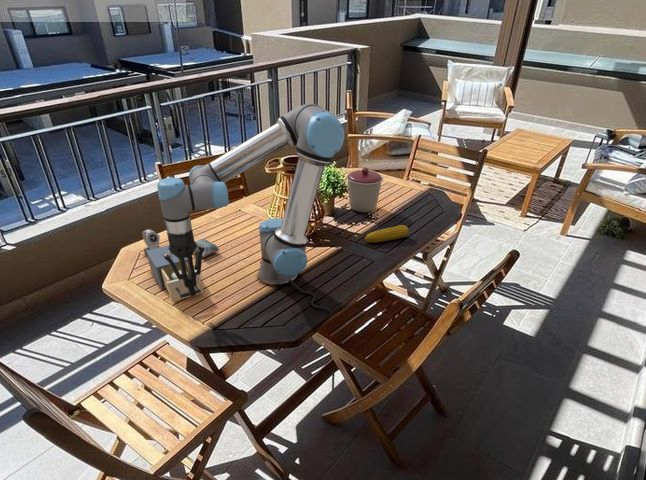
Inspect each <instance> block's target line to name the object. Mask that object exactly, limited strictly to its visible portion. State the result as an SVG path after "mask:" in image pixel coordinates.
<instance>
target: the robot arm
mask: <svg viewBox="0 0 646 480" xmlns="http://www.w3.org/2000/svg"><path fill="white" fill-rule="evenodd" d="M344 142H345V130H344V127H343V125H342V123H341V121H340V119H338V118H337V116H336V115H334V113H332V112H330V111H328V110H327V109H325V108H324V107H322V106H320V105H319V104H316V103H306V104H305V103H304V104H302V105H299V106H297V107H295V108H294V109H291V110H290V111H288V112H287V113H284V114H283V115H281V116H279V117H278V118H277V122H276V123H274V124H273V125H271V126H269V127H267V128H266V129H264V130H263V131H261V132H259V133H258V134H256V135H254V136H253V137H251V138H249V139H248V140H246V141H244V142H242V143H241V144H239V145H237V146H236V147H233V148H232V149H231V150H229V151H227V152H226V153H224V154H222V155H220V156H219V157H216V158H215V159H213V160H211V161H210V162H208V163H206V164H204V165H201V164H200V165H199V164H198V165H195V166H193V167H192V168H191V169H189V170H190V171H189V173H188V181H189V184H185V182H184V180H183V179H181V178H180V177H166V178H162V179H161V180H159V181H158V182H157V185H156V186H157V187H156V188H157V193H158V194H157V195H158V199H159V203H160V208H161V212H162V216H163V220H164V227H165V230H166V235H167V239H168V245H169V251H168V252H167V253H163V257H164V258H165V259H166V260H167V261H168V262H169V264H170V265H171V267H172V269H173V271H174V273H175V275H176V276H177V278H178V279H179V280H181V279H183V282H184V285H185V287H186V288H188V291H189V293H190V295H191V296H190V297H195V296H197V295H196V293H195V288H194V286H195V285H197V282H196V276H197V275H200V276H201V273H202V263H203V257H202V254H203V252H204V249H205V248H204V247H203V246H202V245H201V244H199V245H198V244H196V241H195V237H194V231H193V230H194V229H192V228H193V225H192V219H191V215H190V212H193V211H195V212H196V211H204V210H212V209H216V210H217V209H220V208H224V207H227V206H229V203H230V199H229V192H228V187H227V184H226V183H227V182H229V181H230V180H232V179H233V178H236V177H237V176H239V175H240V174H242V173H243V172H245V171H247V170H249V169H251V168H252V167H254V166H256V165H257V164H259V163H261V162H263V161H264V160H267V159H268V158H269V157H271V156H273V155H275V154H277V153H278V152H280V151H282V150H284V149H285V148H286V147H288V146H290V147H295V153H296V155H297V157H298V158H297V159H298V160H297V162H296V166H295V171H294V175H293V179H292V182H291V185H290V190H289V194H288V197H287V202H286V206H285V210H284V214H283V218H280V217H279V218H269V219H265V220H263V221H261V222H260V223H259V227H258V229H259V230H258V232H259V242H260V251H261V260H260V261H259V264H260V265H259V270H258V279H259V281H260V282H261V283H263V284H265V285H268V286H271V287H282V286H287V285H290V284H291V285H292V286H293V287H295V289H297V290H298V291H299V292H300V293H302V294H305V295H309V296H312V299H311V301H310V306H312V308H315V309H320V310H321V309H322V310H325V311H327V312H328V313H329V314H330V315H332V314H333V312H332V310H331V309H330V308H329V307H326V306H323V305H316V304H314V302H315V301H316V294H315V293H314V292H310V291H305V290H303V289H302V288H301V287H299V286H298V285H297V284H296V283H295V281H296V280H297V279H298V277H299V274H300V273H301V272H303V271H304V270H305V268H306V267H307V265H308V256H307V254H306V250H307V247H308V242H309V238H308V236H307V234H306V233H307V230H308V226H309V224H310V219H311V216H312V213H313V209H314V206H315V202H316V199H317V195H318V191H319V188H320V184H321V182H322V178H323V175H324V172H325V167H326V166H327V165H329V164H331V163H332V161H333V157H334V156H335V154H337V153H339V152H340V150H341V149H342V147H343V145H344ZM195 249H196V252H194V251H195ZM194 253H195V259H194V257H193V255H194ZM172 254H173V255H175V256H176V257H177V258H178V260H179V264H180V269H181V274H180V273H179V271H178V269H177V267H176V266H175V264H174V262H173V260H172ZM184 258H187V263H188V268H189V273H190V275H188V276H187V271H186V266H185V260H184ZM193 259H194V261H193ZM194 262H195V263H194ZM335 374H336V373H335V370H333V371H332V373H331V391H335Z"/></svg>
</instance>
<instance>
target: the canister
mask: <svg viewBox="0 0 646 480" xmlns="http://www.w3.org/2000/svg"><path fill="white" fill-rule="evenodd" d="M346 180H347V188H348V201H349V206H350V208H351V209H352V211H354V212H357V213H371V212H373V211H375V209H376V208H377V206H378V201H379V196H380V191H381V187H382V182H383V180H384V177H383V175H382V174H380V173H379V172H376V171H374V170H370V169H369V168H368V167H363V168H361V169H359V170H358V169H357V170H354V171H351V172H349V173H348V174H346Z"/></svg>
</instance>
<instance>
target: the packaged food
mask: <svg viewBox="0 0 646 480" xmlns="http://www.w3.org/2000/svg"><path fill="white" fill-rule="evenodd" d="M195 242H196V244H198V245H199V244H201V245H202V246H203V247H204V248H205V249H204V252H203V254H202V258H205V257H208V256H210V255H213V254H215V253H218V252H219V251H220V250H221V249H220V248H219V247H218V245H216V243H213V242H211V241H209V240H207V239H206V238H201V239H198V240H196V241H195ZM194 253H196V249H195V251H194Z"/></svg>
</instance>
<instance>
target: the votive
mask: <svg viewBox="0 0 646 480" xmlns="http://www.w3.org/2000/svg"><path fill="white" fill-rule="evenodd" d="M179 273H180V274H181V270H179ZM171 276H172V280H175V279H178V278H177V276H176V275H175V273H174V272H173V273H172V275H171ZM187 276H188V273H187Z"/></svg>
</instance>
